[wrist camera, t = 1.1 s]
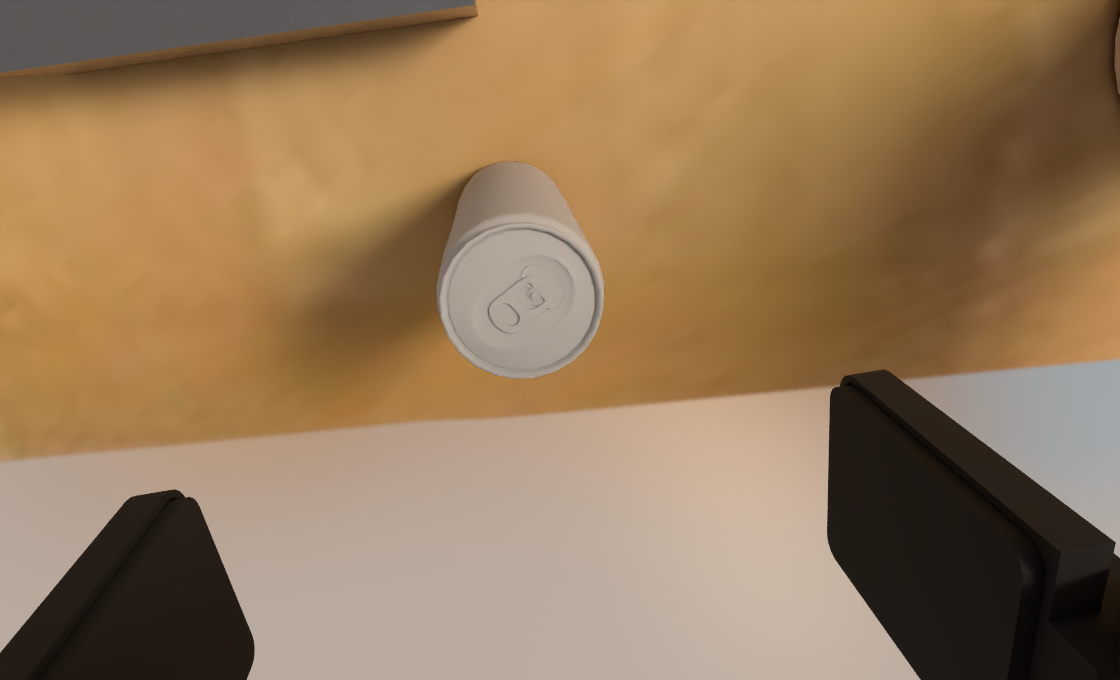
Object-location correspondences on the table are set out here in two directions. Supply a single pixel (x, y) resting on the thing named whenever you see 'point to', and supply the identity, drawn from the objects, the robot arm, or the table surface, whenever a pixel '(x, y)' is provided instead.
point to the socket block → (185, 28)
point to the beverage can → (518, 275)
